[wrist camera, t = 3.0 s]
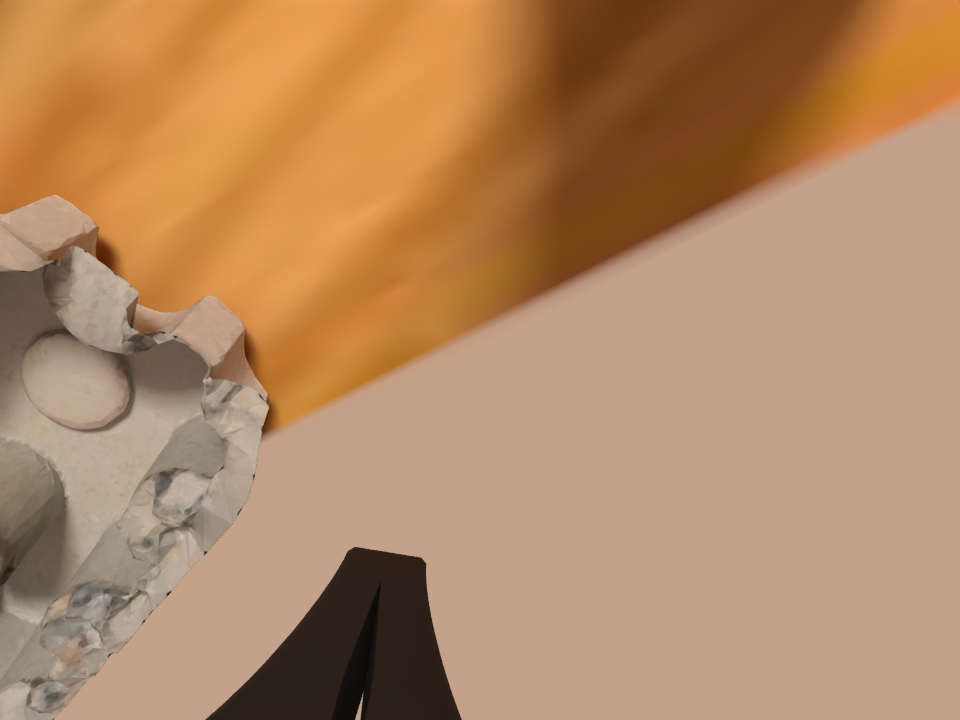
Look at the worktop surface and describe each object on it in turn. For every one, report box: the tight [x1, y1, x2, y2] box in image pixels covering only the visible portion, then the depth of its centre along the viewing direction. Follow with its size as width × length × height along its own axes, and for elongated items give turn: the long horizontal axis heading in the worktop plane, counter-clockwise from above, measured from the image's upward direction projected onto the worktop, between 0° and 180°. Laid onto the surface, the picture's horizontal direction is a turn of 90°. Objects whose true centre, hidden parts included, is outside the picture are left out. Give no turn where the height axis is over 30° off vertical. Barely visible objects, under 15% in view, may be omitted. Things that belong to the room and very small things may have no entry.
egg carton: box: [0, 195, 269, 720], centre depth 14 cm, size 11×8×4 cm
